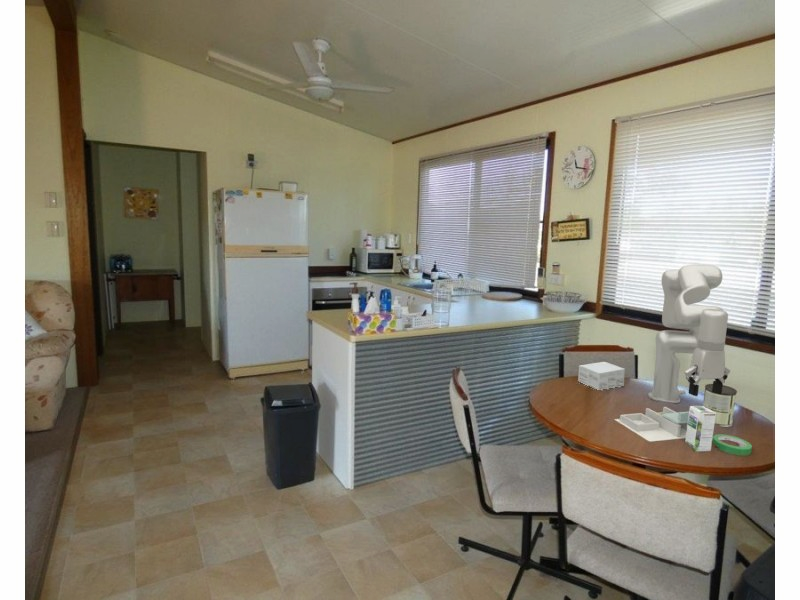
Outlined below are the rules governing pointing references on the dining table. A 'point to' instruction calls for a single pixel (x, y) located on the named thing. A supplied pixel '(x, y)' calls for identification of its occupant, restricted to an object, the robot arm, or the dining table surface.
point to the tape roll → (742, 450)
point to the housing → (654, 425)
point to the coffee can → (721, 404)
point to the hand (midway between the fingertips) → (704, 394)
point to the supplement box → (601, 375)
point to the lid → (677, 417)
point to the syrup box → (700, 428)
